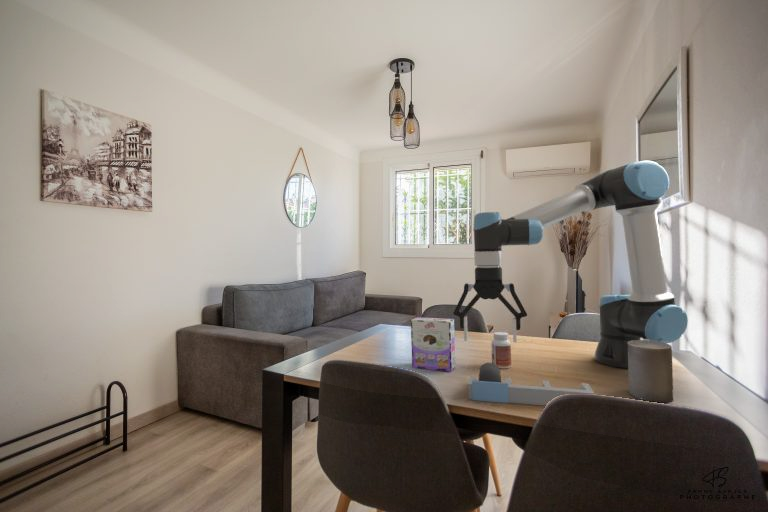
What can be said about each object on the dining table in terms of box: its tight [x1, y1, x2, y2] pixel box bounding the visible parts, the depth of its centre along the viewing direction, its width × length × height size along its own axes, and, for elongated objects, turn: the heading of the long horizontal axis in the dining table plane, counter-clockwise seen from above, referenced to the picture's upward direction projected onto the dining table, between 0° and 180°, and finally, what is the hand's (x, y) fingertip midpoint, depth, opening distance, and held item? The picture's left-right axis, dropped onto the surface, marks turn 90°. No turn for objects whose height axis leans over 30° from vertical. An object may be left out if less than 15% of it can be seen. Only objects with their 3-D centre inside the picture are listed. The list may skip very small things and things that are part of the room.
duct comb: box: [468, 375, 596, 406], centre depth 99 cm, size 30×7×5 cm, turn 74°
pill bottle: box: [491, 331, 512, 370], centre depth 127 cm, size 6×6×11 cm
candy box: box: [410, 316, 456, 372], centre depth 128 cm, size 14×6×16 cm, turn 65°
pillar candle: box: [627, 339, 674, 403], centre depth 100 cm, size 10×10×15 cm
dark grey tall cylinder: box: [478, 362, 502, 383], centre depth 106 cm, size 12×6×6 cm, turn 164°
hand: (490, 340), depth 109 cm, fingers open, 13 cm apart
